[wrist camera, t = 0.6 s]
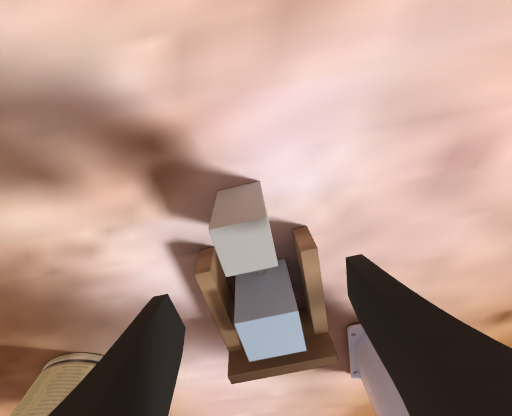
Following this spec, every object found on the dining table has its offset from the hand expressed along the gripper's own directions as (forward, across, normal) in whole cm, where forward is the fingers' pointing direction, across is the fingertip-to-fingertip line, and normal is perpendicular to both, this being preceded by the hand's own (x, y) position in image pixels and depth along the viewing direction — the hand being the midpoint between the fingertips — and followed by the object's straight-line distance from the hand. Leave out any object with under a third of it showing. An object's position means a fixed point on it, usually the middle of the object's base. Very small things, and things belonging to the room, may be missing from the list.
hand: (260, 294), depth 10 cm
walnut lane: (+9, +1, +9) cm, 13 cm away
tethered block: (+9, +1, +5) cm, 11 cm away
